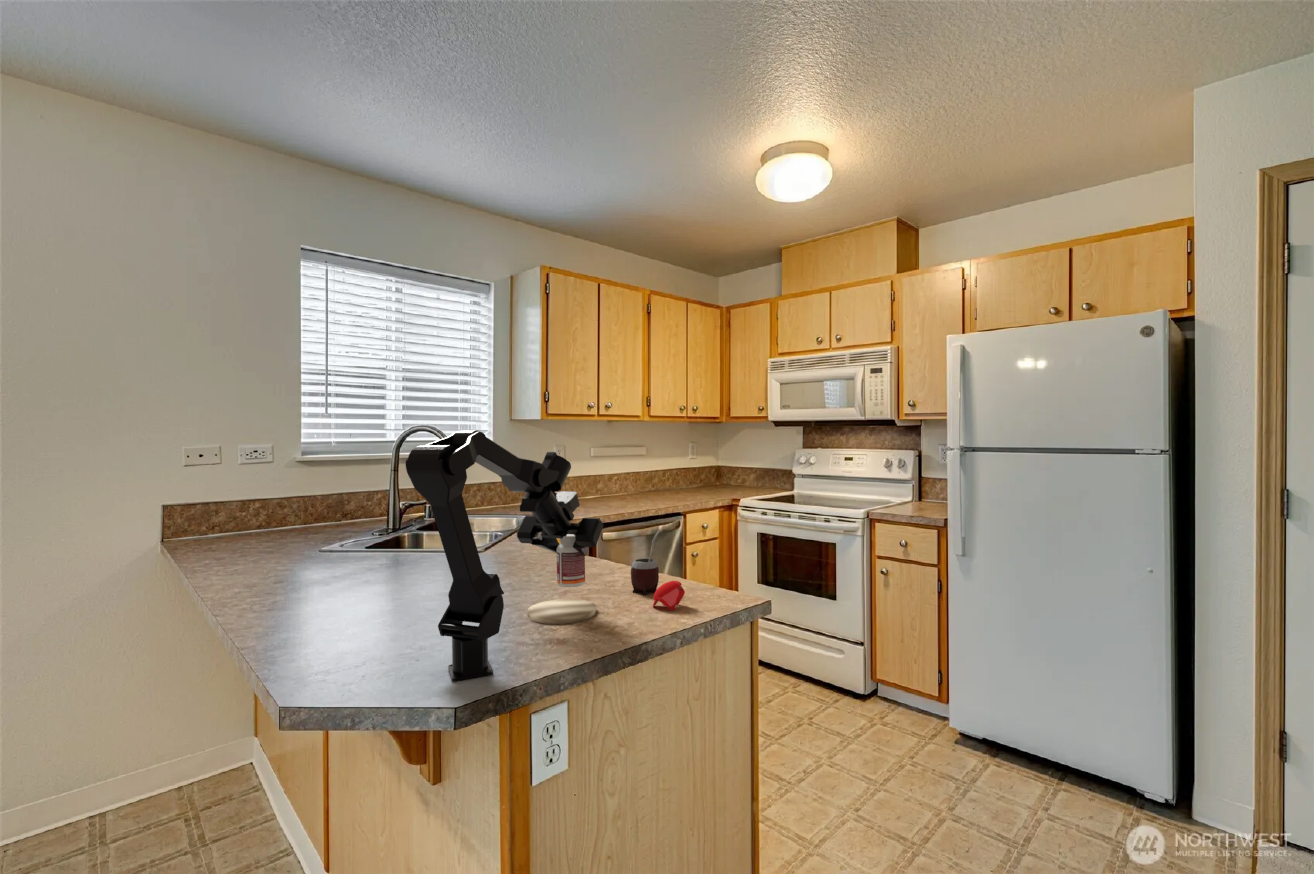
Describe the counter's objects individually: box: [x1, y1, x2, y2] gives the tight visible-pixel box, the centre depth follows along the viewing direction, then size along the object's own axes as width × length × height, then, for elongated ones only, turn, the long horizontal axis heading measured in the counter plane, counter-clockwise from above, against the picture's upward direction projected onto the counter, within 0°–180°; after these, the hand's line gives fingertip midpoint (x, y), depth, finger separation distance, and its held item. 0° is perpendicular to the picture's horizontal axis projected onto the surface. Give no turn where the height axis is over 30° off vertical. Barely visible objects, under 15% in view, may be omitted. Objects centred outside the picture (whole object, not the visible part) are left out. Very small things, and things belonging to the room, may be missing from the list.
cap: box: [652, 580, 686, 611], centre depth 135 cm, size 8×6×6 cm
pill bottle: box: [556, 534, 586, 588], centre depth 130 cm, size 6×6×11 cm
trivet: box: [527, 598, 597, 625], centre depth 131 cm, size 15×15×1 cm
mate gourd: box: [630, 529, 661, 596], centre depth 149 cm, size 8×8×15 cm
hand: (573, 553), depth 132 cm, fingers closed on pill bottle, 6 cm apart
